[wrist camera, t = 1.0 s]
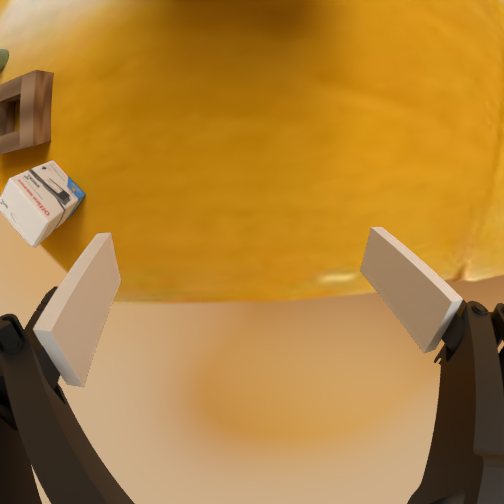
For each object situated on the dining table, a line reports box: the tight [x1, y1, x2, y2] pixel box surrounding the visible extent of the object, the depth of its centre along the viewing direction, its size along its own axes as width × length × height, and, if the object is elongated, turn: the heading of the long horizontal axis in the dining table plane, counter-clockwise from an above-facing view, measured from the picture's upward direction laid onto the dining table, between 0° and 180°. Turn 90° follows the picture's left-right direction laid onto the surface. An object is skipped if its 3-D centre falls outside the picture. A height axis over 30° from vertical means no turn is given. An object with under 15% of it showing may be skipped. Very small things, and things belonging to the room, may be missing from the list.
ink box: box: [0, 160, 85, 247], centre depth 28 cm, size 8×5×12 cm, turn 39°
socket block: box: [0, 70, 54, 154], centre depth 23 cm, size 11×11×5 cm
